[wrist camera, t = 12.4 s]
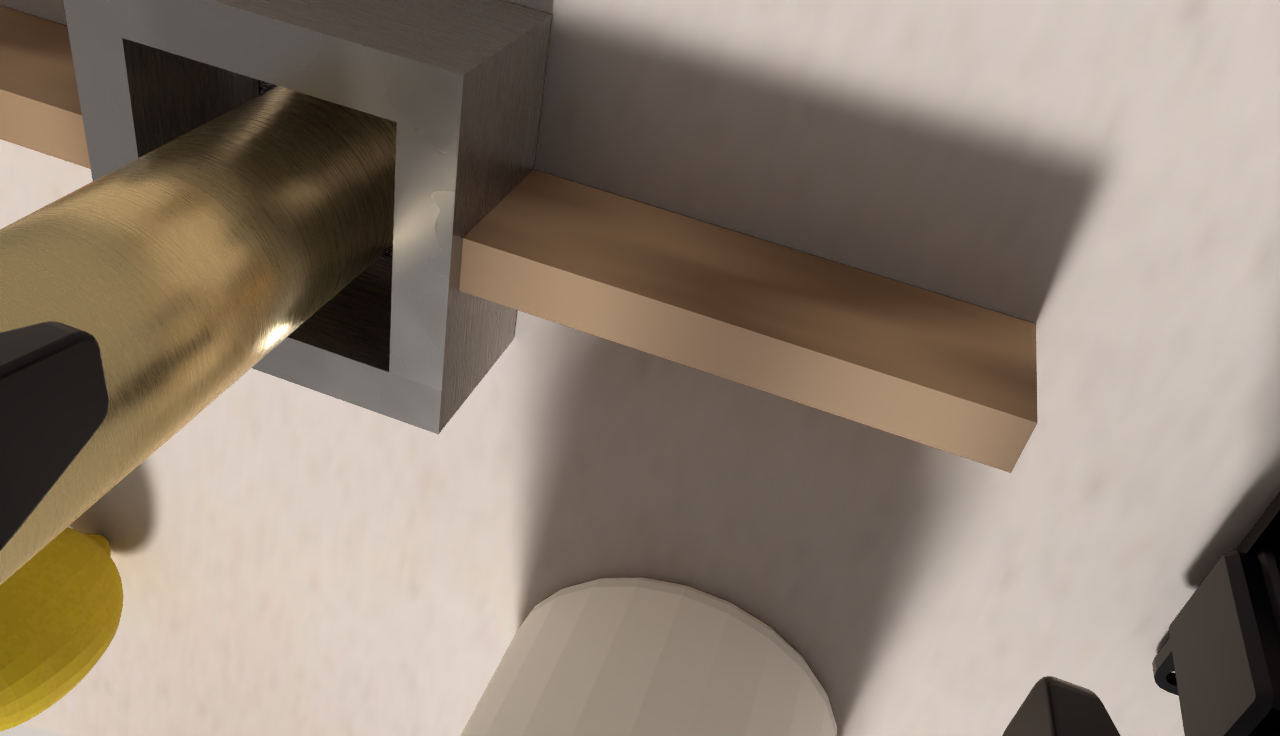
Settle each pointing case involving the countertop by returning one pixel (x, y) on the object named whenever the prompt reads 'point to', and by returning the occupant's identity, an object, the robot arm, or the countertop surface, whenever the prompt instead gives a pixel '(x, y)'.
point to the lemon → (55, 622)
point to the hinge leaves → (679, 290)
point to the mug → (649, 669)
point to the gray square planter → (424, 170)
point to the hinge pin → (195, 270)
